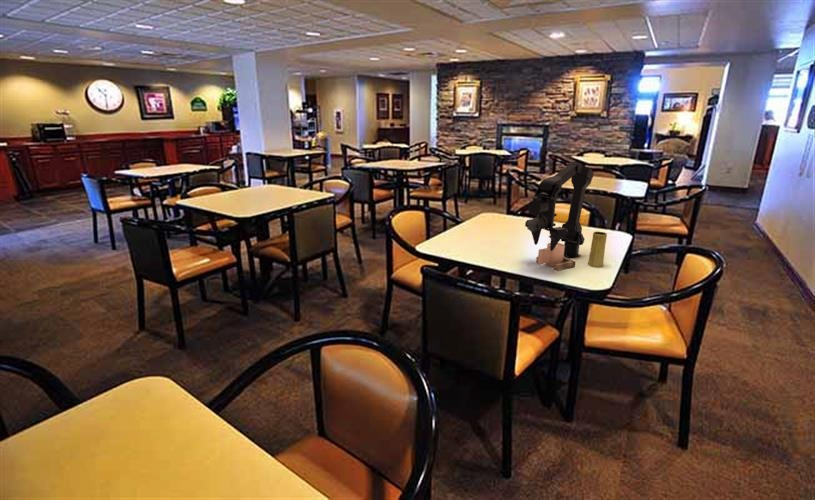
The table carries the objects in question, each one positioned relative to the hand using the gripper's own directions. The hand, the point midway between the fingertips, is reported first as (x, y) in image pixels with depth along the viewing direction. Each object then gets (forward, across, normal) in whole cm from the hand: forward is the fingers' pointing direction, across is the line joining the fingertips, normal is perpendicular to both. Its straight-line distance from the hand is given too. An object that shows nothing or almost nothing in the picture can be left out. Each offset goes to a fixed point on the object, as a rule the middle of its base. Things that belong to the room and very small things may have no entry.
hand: (543, 247), depth 181 cm
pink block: (+9, 0, +4) cm, 10 cm away
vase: (+9, +8, +23) cm, 26 cm away
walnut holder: (+9, 0, +7) cm, 11 cm away
